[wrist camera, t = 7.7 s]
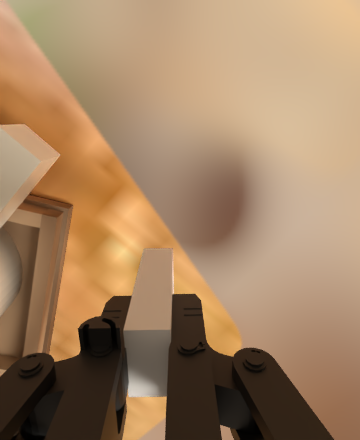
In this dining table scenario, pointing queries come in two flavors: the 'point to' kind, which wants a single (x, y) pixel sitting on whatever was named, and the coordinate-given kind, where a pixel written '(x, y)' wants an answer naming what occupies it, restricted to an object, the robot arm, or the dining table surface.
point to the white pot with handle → (17, 195)
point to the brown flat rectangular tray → (35, 277)
